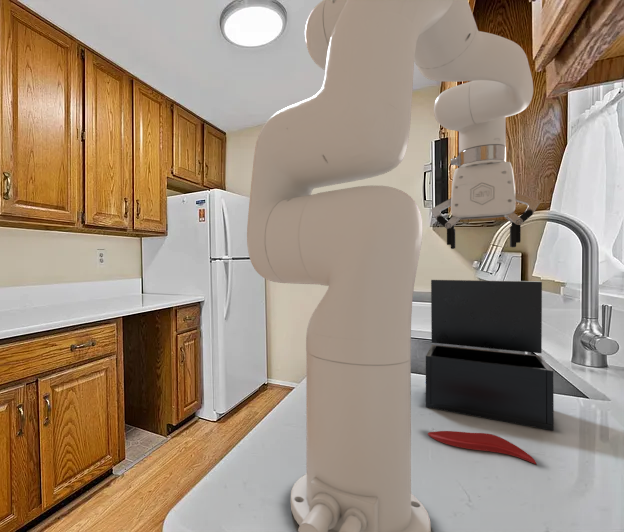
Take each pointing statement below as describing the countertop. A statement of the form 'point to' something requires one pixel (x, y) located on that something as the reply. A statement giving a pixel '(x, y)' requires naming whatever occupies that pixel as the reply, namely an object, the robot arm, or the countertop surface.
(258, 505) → the countertop surface
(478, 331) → the bin lid
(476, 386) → the bin
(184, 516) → the countertop surface
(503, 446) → the cayenne pepper
